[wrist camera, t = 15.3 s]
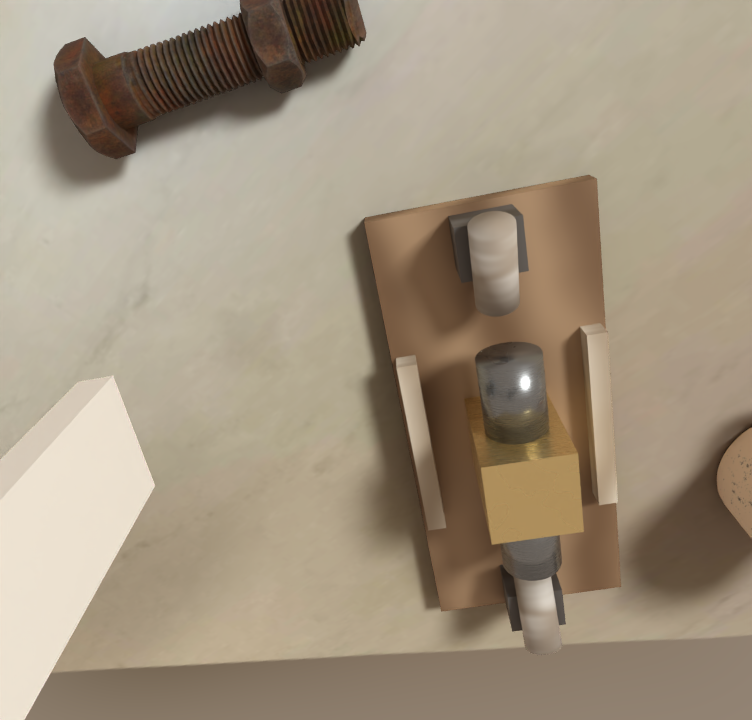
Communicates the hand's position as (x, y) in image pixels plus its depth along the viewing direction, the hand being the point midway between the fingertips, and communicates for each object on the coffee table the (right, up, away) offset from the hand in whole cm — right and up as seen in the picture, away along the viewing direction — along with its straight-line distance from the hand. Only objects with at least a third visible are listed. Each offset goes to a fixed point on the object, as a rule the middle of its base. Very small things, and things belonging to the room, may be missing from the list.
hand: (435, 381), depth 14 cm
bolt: (-9, +17, +23) cm, 29 cm away
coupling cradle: (+7, -3, +30) cm, 31 cm away
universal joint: (+7, -4, +29) cm, 30 cm away
